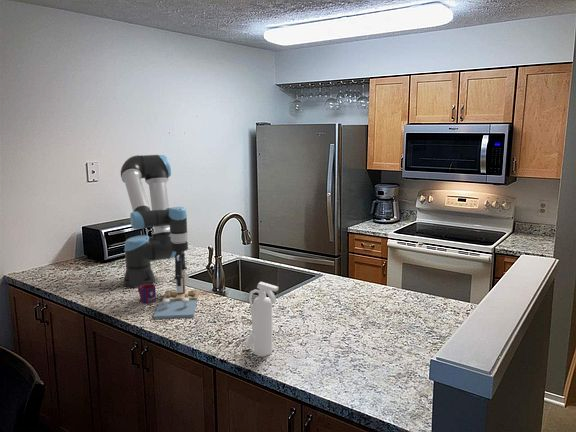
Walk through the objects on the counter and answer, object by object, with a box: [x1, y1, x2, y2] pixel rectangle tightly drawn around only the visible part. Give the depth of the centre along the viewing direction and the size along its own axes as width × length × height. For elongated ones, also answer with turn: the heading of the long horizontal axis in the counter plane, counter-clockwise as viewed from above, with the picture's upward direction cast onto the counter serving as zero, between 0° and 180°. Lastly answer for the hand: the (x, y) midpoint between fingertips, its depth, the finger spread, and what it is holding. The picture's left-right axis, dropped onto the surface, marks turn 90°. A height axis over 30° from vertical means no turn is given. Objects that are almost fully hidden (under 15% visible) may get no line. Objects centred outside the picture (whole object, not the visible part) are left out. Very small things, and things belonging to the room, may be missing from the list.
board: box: [153, 298, 198, 320], centre depth 195 cm, size 16×16×5 cm
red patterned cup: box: [137, 283, 157, 305], centre depth 207 cm, size 7×10×7 cm
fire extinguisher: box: [245, 281, 279, 357], centre depth 157 cm, size 7×12×25 cm, turn 61°
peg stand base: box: [162, 275, 200, 301], centre depth 209 cm, size 15×11×10 cm
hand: (181, 287), depth 211 cm, fingers open, 12 cm apart
